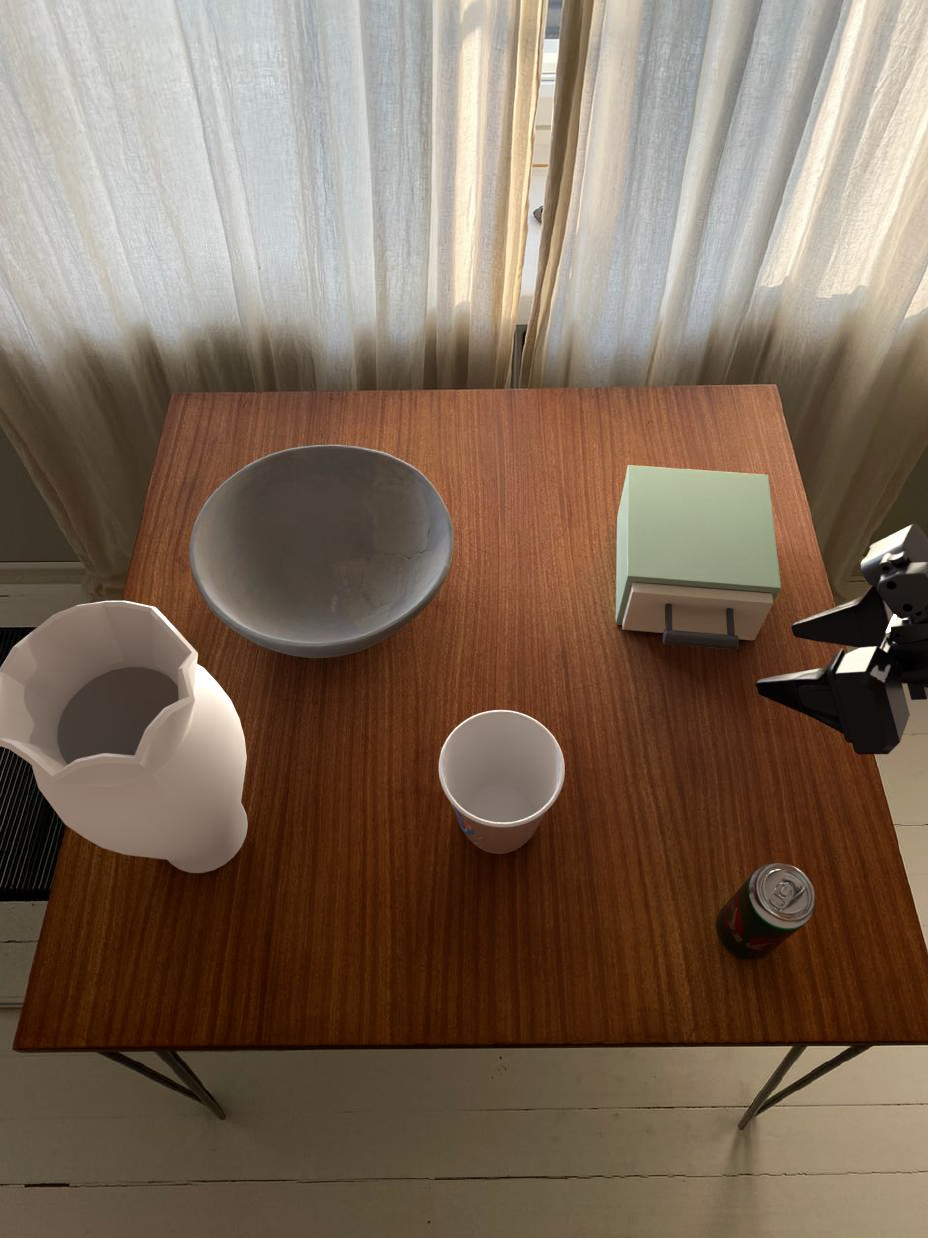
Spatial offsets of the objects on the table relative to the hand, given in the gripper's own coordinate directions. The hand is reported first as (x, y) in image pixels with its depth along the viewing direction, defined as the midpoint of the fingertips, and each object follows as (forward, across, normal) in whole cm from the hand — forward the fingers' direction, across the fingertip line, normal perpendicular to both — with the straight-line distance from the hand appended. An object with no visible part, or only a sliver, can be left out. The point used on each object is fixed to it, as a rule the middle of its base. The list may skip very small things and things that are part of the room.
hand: (775, 657), depth 68 cm
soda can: (+8, +5, +24) cm, 25 cm away
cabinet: (+18, -24, +1) cm, 30 cm away
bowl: (+47, -2, -11) cm, 48 cm away
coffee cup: (+26, +9, +10) cm, 30 cm away
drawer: (+17, -20, +3) cm, 26 cm away
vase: (+47, +25, +1) cm, 53 cm away
